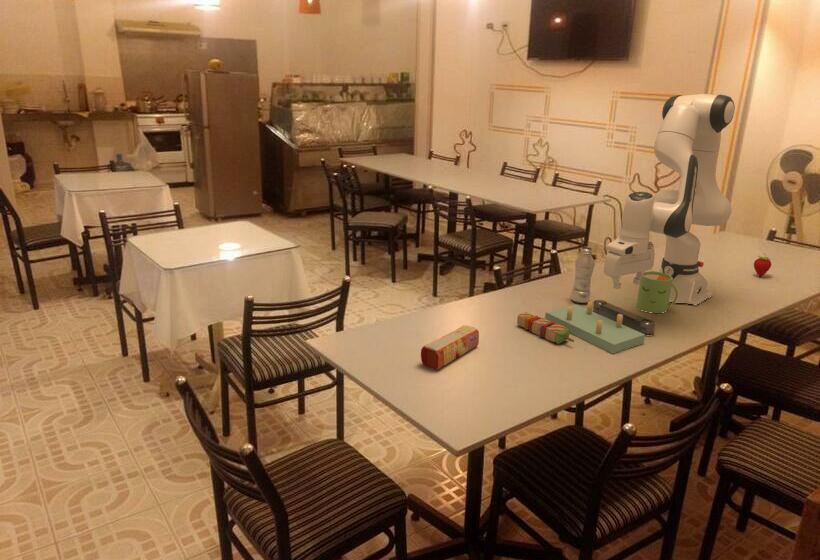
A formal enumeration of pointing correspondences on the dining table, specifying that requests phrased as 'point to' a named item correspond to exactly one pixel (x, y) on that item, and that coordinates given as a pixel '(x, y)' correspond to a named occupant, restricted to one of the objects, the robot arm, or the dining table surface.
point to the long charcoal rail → (624, 317)
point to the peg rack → (596, 328)
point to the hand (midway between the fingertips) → (626, 286)
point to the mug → (655, 292)
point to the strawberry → (762, 265)
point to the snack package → (449, 347)
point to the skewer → (544, 328)
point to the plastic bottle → (583, 276)
